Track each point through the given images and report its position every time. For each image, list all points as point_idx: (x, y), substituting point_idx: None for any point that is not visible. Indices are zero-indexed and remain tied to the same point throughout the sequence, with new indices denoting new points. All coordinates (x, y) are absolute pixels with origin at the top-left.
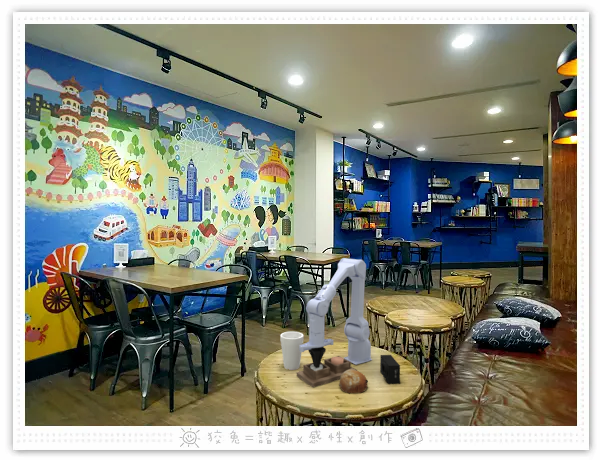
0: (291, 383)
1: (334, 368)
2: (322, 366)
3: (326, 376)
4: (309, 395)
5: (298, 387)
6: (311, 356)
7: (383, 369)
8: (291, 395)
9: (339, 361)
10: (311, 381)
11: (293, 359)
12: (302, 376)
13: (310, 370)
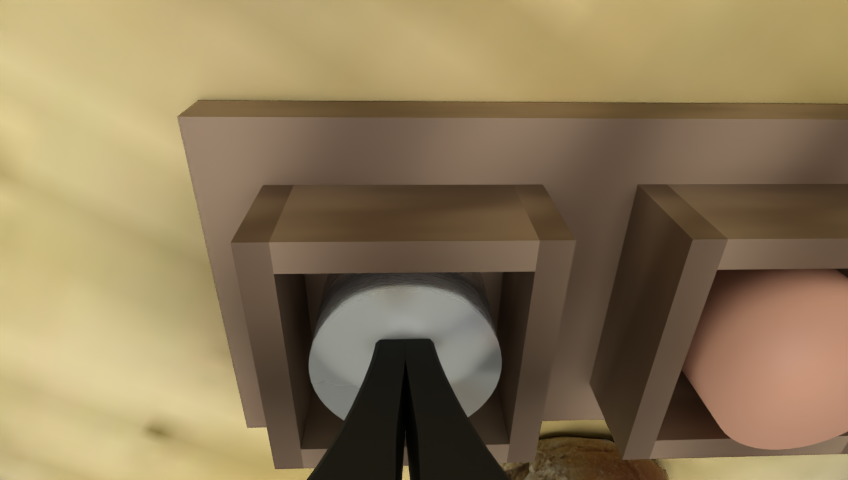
0: (65, 233)
1: (613, 409)
2: (476, 402)
3: None
4: (169, 464)
5: (119, 334)
6: (325, 462)
7: None
8: (6, 411)
9: (751, 443)
10: (253, 395)
11: None
12: (210, 259)
13: (266, 400)
